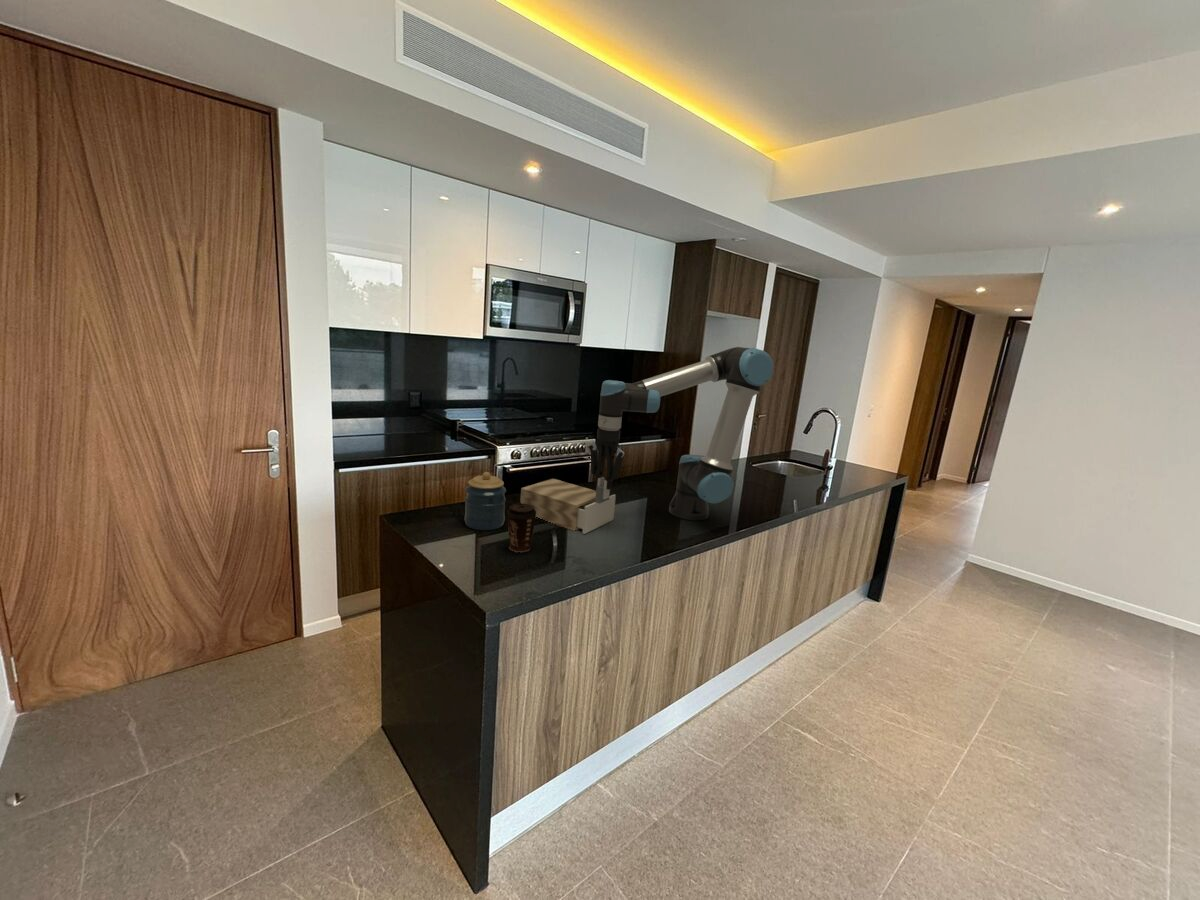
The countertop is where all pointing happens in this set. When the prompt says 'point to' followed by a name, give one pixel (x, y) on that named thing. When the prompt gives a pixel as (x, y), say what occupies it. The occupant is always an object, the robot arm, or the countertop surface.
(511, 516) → the coffee cup
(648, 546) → the countertop surface
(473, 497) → the canister
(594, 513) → the tray
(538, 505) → the mailer sleeve
